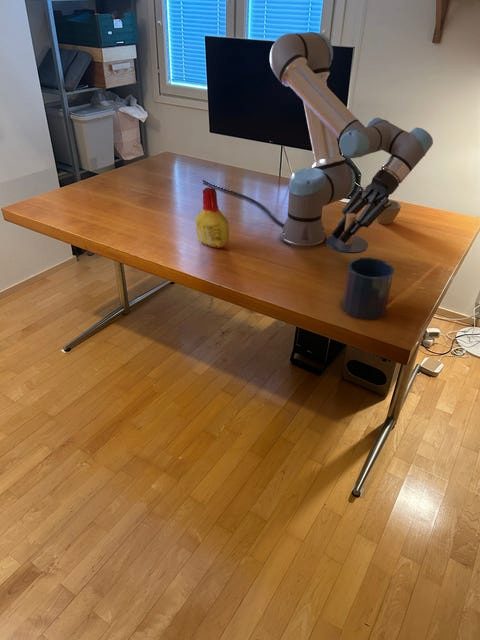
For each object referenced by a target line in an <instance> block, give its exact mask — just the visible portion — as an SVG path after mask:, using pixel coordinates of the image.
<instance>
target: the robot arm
mask: <svg viewBox="0 0 480 640" xmlns="http://www.w3.org/2000/svg"><path fill="white" fill-rule="evenodd" d="M333 58H334V49H333V45H332V43H331V41H330V39H329V38H328V37H327V36H326V35H324V34H323V33H320V32H315V31H308V32H299V33H298V32H296V33H286V34H285V33H284V34H282V35H281V36H280V37H278V38H276V40H275V41H274V42H273V44H272V46H271V49H270V52H269V63H270V68H271V70H272V72H273V74H274V75H275V77H276V78H277V79H278V81H279V82H280V83H281V84H282V85H283V86H284V87H290V89H292V90H293V92H294V93H295V94H296V96H297V97H299V98H300V99H301V100H302V102H303V107H304V112H305V117H306V123H307V128H308V133H309V139H310V143H311V149H312V153H313V158H314V162H313V164H312V165H311V167H308V168H301V169H298V170H295V172H293V173H292V174H291V176H290V179H289V184H288V202H287V217H286V220H285V222H284V223H283V222H281V220H278V219H277V218H276V217H275V216H274V215H273V214H272V213H271V212H270V211H269V209H268V208H266V206H264V205H263V204H262V203H261V202H259V201H257V200H255V199H253V198H252V197H249V196H247V195H246V194H243V193H240V192H236V191H235V190H231V191H229V190H230V189H228V190H226V189H227V188H225V189H223V188H224V187H222V188H220V187H221V186H220V187H217V186H218V185H217V186H215V185H216V184H214V185H212V184H213V183H212V184H210V183H211V182H210V183H208V182H209V181H207V180H205V179H202V182H203V183H205V184H207V185H209V186H212V188H215V189H216V188H217V189H219V190H222V191H225V192H228V193H229V194H230V193H231V194H233V195H236V196H238V197H241V198H244V199H247V200H248V201H250V202H253V203H254V204H256V205H257V206H259V207H260V208H261V209H262V210H264V211H265V212H266V213H267V215H268V216H269V217H270V218H271V219H272V220H273V221H274V222H275V223H276V224H278V225H280V226H282V229H281V232H280V239H281V241H282V242H283V243H284V244H286V245H288V246H295V247H300V248H301V247H302V248H308V247H309V248H310V247H315V246H319V245H322V244H323V243H324V242H325V236H326V235H325V227H324V224H323V221H322V217H323V207H325V206H328V205H330V204H333V203H335V202H341V201H343V200H345V198H347V197H349V196H350V195H351V194H352V192H353V191H354V189H355V186H356V175H355V172H354V171H355V170H353V168H351V166H349V165H348V164H347V162H346V159H347V158H348V159H357V158H362V157H365V156H366V155H370V154H373V153H377V152H381V151H383V152H385V153H387V154H389V155H390V156H389V158H387V160H386V161H385V162H384V163H383V165H382V166H381V167H380V169H378V171H377V172H376V173H375V174H374V175H373V177H372V178H371V182H370V183H369V184H367V185H366V186H364V187H362V185H358V186H357V188H356V190H355V193H354V194H353V195H352V196H351V198H350V200H349V201H348V202H347V203H346V205H345V206H344V208H343V209H342V210H341V213H342V214H343V217H342V219H341V220H340V221H339V222H338V224H337V226H336V228H335V229H334V230H333V231H332V232H331V236H334V237H335V238H336V239H338V238H339V236H340V235H341V234H342V236H341V237H340V238H339V239H340V240H341V241H342V242H343V243H344V244H345V243H346V242H347V241H348V240H349V238H350V237H351V236H352V235H356V234H357V232H359V230H360V229H361V228H366V229H367V228H369V227H370V226H371V225H372V224H373V223H374V222H375V221H376V220H377V219H376V218H377V217H378V216H379V215H380V214H381V213H382V212H383V211H384V210H385V209H386V208H388V207H389V206H391V205H392V203H391V202H390V201H389V200H390V199H389V197H390V195H393V194H394V193H395V191H396V190H398V188H399V186H400V184H402V183H403V181H404V180H405V179H406V178H407V177H408V175H410V173H411V172H412V170H414V168H415V167H416V166H417V165H418V164H419V162H420V161H421V160H422V159H423V158H424V157H425V156H426V154H427V153H428V152H429V150H430V149H432V147H433V145H434V139H433V137H432V135H431V133H430V132H428V131H427V130H425V129H424V128H422V127H414V128H413V129H412V130H410V132H409V131H408V130H404V129H402V128H401V127H399V126H397V125H395V124H393V123H391V122H389V120H386V119H384V118H381V117H374V118H372V119H371V120H370V121H369V122H368V123H367V125H366V126H365V125H364V124H363V123H362V122H361V121H360V120H359V119H358V118H357V117H356V116H355V115H354V114H353V112H352V111H350V110H349V108H348V107H347V106H346V105H345V104H344V103H343V102H342V100H340V99H339V98H338V97H337V96H336V94H335V93H334V92H332V90H331V89H330V88H329V87H328V83H327V80H328V77H329V76H330V67H331V65H332V60H334V59H333ZM338 140H339V141H338ZM338 142H339V144H338ZM340 153H341V154H342V155H343V156H342V155H341V154H340ZM204 180H205V181H204ZM206 181H207V182H206ZM361 211H362V212H361ZM360 212H361V213H360ZM348 213H353V214H356V215H357V214H359V213H360V215H359V216H358V218H356V219H355V221H356V222H354V221H353V222H352V224H351V225H350V226H349V227H348V228H347V230H346V231H345V232H344V228H345V222H346V215H347V214H348Z"/></svg>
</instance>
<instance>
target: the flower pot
mask: <svg viewBox="0 0 480 640" xmlns="http://www.w3.org/2000/svg"><path fill="white" fill-rule="evenodd" d="M389 201H390V202H391V203H392V205H391V206H389V207H388V208H386V209H385V210H384V211H383V212H382V213H381V214H380V215H379V216H378V217H377V218H376V219H375V220H376V221H377V223H378V224H381V225H390V224H392V223H393V221H394V220H395V219H396V218H397V216H398V215H399V213H400V211H401V208H402V204H401V203H400V202H398V201H395V200H392V199H389Z"/></svg>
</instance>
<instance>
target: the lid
mask: <svg viewBox="0 0 480 640" xmlns="http://www.w3.org/2000/svg"><path fill="white" fill-rule="evenodd" d="M355 219H356V220H357V214H353V213H348V214H347V215H346V222H345V228H344V232H345V231H346V230H347V228H348V227H349V226H350V225H351V224H352V222H353V221H354V222H356V221H355ZM356 223H357V222H356ZM344 232H343V233H344ZM343 233H342V234H343ZM342 234H341V235H340V236H339V238H340V237H341V236H342ZM339 238H338V239H336V238H335V237H334V236H333V235H330V236H328V238H326V241H325V243H326V247H328V248H329V249H331V250H333V251H335V252H338V253H341V254H349V255H350V254H351V255H352V254H353V255H355V254H361V253H364V252H366V251H368V249H369V242H368V241H367V240H366V239H365V238H363V237H361V236H357V235H356V234H354V235H352V236H351V237H350V238H349V240H348V241H347V242H346V243H345V244H344V243H343V242H342V241H341V240H340V239H339Z"/></svg>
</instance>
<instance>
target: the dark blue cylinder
mask: <svg viewBox="0 0 480 640" xmlns="http://www.w3.org/2000/svg"><path fill="white" fill-rule="evenodd" d="M394 272H395V268H394V267H393V266H392V264H390V263H389V262H387V261H385V260H382V259H379V258H375V257H358V258H354V259H352V260H350V261H349V262H348V265H347V269H346V277H345V282H344V283H345V284H344V290H343V296H342V303H341V306H342V307H341V308H342V310H343V311H344V313H346V314H347V315H349V316H351V317H353V318H355V319H358V320H359V319H360V320H367V321H369V320H370V321H371V320H376V319H380V318H382V317H383V316H384V315H385V314H386V310H387V306H388V301H389V296H390V291H391V287H392V282H393V277H394Z"/></svg>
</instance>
